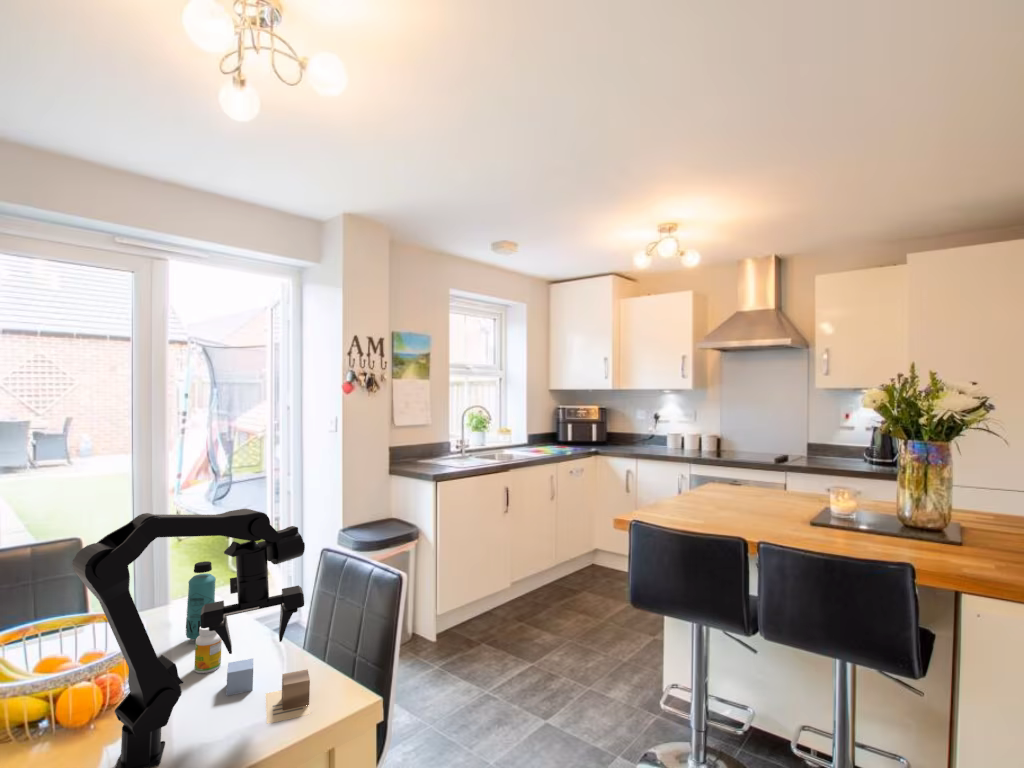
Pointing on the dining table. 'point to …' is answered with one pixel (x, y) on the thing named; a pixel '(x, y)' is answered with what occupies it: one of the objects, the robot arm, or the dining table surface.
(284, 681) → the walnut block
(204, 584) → the beverage bottle
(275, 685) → the dining table surface
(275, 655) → the dining table surface
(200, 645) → the supplement bottle
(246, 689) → the cube
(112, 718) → the dining table surface
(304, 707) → the letter
